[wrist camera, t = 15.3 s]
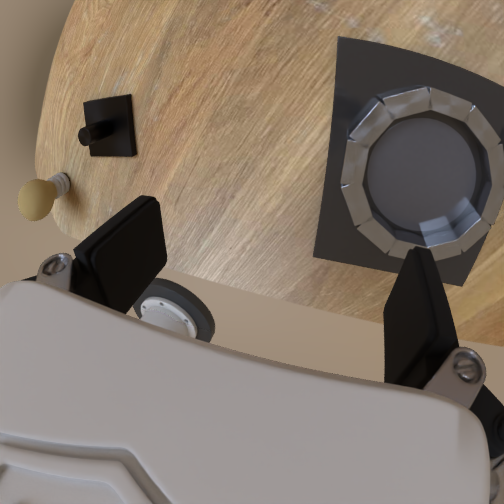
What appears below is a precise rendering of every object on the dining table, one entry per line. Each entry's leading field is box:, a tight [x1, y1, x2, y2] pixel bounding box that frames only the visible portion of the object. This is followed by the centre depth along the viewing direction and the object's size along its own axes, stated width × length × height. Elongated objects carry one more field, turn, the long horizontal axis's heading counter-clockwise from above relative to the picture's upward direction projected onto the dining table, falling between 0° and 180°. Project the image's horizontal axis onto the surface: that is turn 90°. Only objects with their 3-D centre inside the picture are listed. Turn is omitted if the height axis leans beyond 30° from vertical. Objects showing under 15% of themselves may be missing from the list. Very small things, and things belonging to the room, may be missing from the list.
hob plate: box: [313, 36, 504, 287], centre depth 24 cm, size 24×20×1 cm
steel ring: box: [340, 86, 504, 261], centre depth 23 cm, size 17×17×3 cm
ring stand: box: [78, 94, 137, 157], centre depth 30 cm, size 8×8×5 cm
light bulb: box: [18, 172, 70, 221], centre depth 36 cm, size 6×6×10 cm
